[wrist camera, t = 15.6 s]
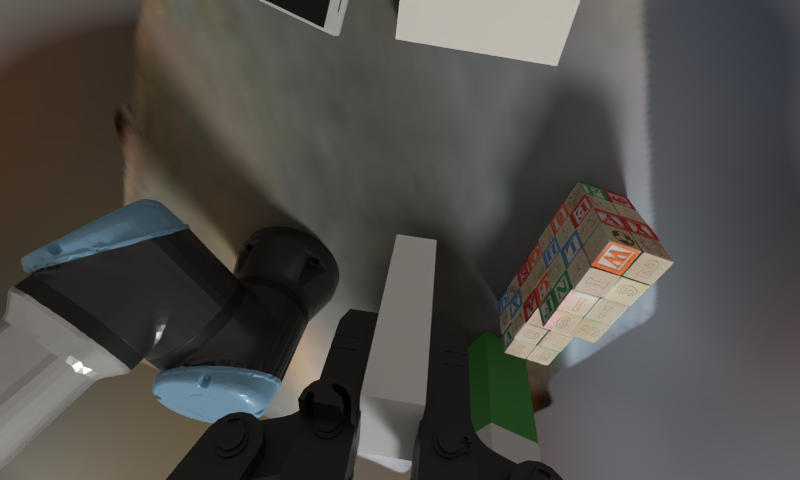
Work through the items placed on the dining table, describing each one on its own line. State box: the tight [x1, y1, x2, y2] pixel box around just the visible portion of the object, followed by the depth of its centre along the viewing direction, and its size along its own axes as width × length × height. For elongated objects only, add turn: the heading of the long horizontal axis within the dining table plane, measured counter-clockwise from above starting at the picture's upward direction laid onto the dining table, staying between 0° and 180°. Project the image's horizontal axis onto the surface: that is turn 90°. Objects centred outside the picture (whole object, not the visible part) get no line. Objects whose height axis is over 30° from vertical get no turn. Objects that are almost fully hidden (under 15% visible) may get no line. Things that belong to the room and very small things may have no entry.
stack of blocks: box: [498, 182, 673, 365], centre depth 44 cm, size 21×6×12 cm, turn 164°
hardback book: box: [468, 331, 541, 464], centre depth 55 cm, size 18×7×24 cm, turn 152°
